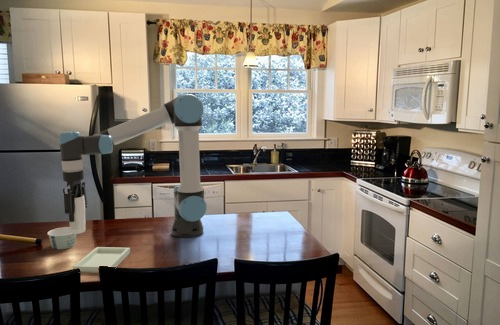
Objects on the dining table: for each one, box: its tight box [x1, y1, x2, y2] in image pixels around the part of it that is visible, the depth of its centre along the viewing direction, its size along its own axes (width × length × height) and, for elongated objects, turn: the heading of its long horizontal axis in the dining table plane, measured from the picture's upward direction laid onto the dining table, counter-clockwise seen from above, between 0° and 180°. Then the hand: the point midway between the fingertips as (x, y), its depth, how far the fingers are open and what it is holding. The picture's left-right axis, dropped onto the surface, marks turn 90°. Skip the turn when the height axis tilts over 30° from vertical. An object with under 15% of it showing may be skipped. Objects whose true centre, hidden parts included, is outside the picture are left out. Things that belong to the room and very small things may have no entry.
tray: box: [72, 246, 131, 274], centre depth 154 cm, size 14×20×2 cm
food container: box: [47, 226, 78, 250], centre depth 172 cm, size 12×12×6 cm
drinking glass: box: [67, 195, 86, 235], centre depth 161 cm, size 7×7×15 cm
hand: (78, 226), depth 162 cm, fingers closed on drinking glass, 6 cm apart
